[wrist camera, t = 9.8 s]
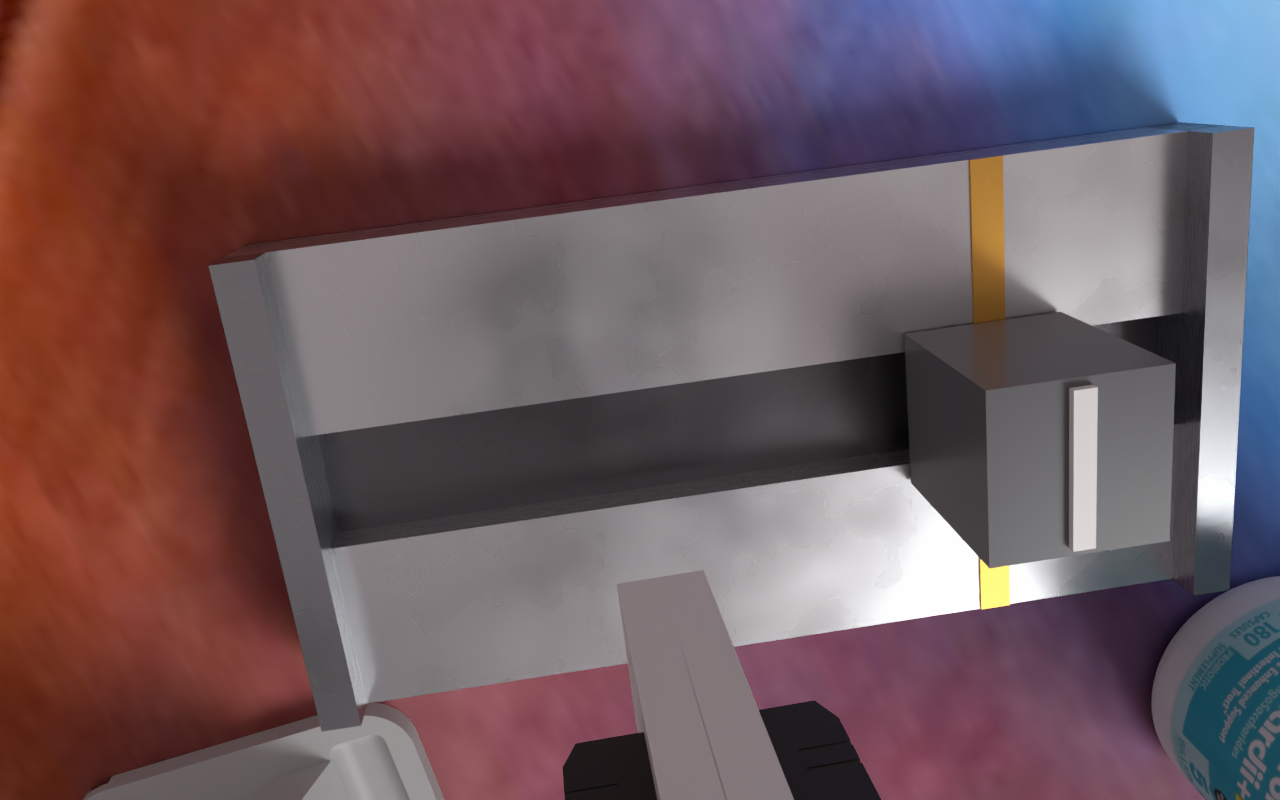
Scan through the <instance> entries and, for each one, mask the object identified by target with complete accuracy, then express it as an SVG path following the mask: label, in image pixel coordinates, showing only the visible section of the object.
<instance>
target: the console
mask: <svg viewBox="0 0 1280 800" xmlns="http://www.w3.org/2000/svg"><path fill="white" fill-rule="evenodd" d="M1253 143H1254V128H1251V127H1237V126H1223V125H1209V124H1195V123H1181V122H1179V123H1172V124H1164V125H1156V126H1149V127H1141V128H1134V129H1126V130H1118V131H1111V132H1103V133H1095V134H1088V135H1080V136H1073V137H1065V138H1057V139H1050V140H1042V141H1034V142H1027V143H1019V144H1012V145H1004V146H996V147H989V148H981V149H973V150H966V151H958V152H951V153H943V154H935V155H928V156H920V157H912V158H905V159H897V160H890V161H882V162H874V163H867V164H859V165H851V166H844V167H836V168H829V169H821V170H813V171H806V172H798V173H790V174H783V175H775V176H768V177H760V178H752V179H745V180H737V181H729V182H722V183H714V184H707V185H699V186H691V187H684V188H676V189H668V190H661V191H653V192H646V193H638V194H630V195H623V196H615V197H607V198H600V199H592V200H585V201H577V202H569V203H562V204H554V205H546V206H539V207H531V208H524V209H516V210H508V211H501V212H493V213H485V214H478V215H470V216H463V217H455V218H447V219H440V220H432V221H425V222H417V223H409V224H402V225H394V226H386V227H379V228H371V229H364V230H356V231H348V232H341V233H333V234H325V235H318V236H310V237H303V238H295V239H287V240H280V241H272V242H264V243H257V244H249V245H244V246H242V247H240V248H238V249H237V250H235V251H233V252H231V253H230V254H228V255H226V256H225V257H223V258H221V259H219V260H218V261H216V262H214V263H212V264H211V265H209V270H210V274H211V278H212V282H213V287H214V291H215V295H216V299H217V303H218V307H219V311H220V315H221V319H222V324H223V328H224V332H225V336H226V340H227V344H228V348H229V352H230V356H231V361H232V365H233V369H234V373H235V377H236V381H237V385H238V389H239V393H240V398H241V402H242V406H243V410H244V414H245V418H246V422H247V426H248V430H249V435H250V439H251V443H252V447H253V451H254V455H255V459H256V463H257V468H258V472H259V476H260V480H261V484H262V488H263V492H264V496H265V500H266V505H267V509H268V513H269V517H270V521H271V525H272V529H273V533H274V537H275V542H276V546H277V550H278V554H279V558H280V562H281V566H282V570H283V574H284V579H285V583H286V587H287V591H288V595H289V599H290V603H291V607H292V611H293V616H294V620H295V624H296V628H297V632H298V636H299V640H300V644H301V649H302V653H303V657H304V661H305V665H306V669H307V673H308V677H309V681H310V686H311V690H312V694H313V698H314V702H315V706H316V710H317V714H318V718H319V723H320V727H321V731H322V732H323V731H330V730H336V729H342V728H349V727H355V726H361V725H362V721H363V717H364V714H365V710H366V706H367V703H374V702H380V701H386V700H393V699H399V698H406V697H412V696H419V695H425V694H432V693H438V692H445V691H451V690H457V689H464V688H470V687H477V686H483V685H490V684H496V683H503V682H509V681H516V680H522V679H528V678H535V677H541V676H548V675H554V674H561V673H567V672H574V671H580V670H587V669H593V668H599V667H606V666H612V665H619V664H625V663H628V662H627V655H626V648H625V640H624V633H623V626H622V619H621V612H620V605H619V597H618V590H617V584H619V583H625V582H632V581H638V580H644V579H650V578H657V577H663V576H669V575H676V574H682V573H688V572H694V571H701V570H704V573H705V575H706V578H707V580H708V583H709V585H710V588H711V591H712V593H713V596H714V598H715V601H716V603H717V606H718V608H719V611H720V613H721V616H722V618H723V621H724V623H725V626H726V629H727V631H728V634H729V636H730V639H731V641H732V644H733V646H734V647H735V646H741V645H748V644H754V643H761V642H767V641H774V640H780V639H787V638H793V637H800V636H806V635H812V634H819V633H825V632H832V631H838V630H845V629H851V628H858V627H864V626H871V625H877V624H883V623H890V622H896V621H903V620H909V619H916V618H922V617H929V616H935V615H942V614H948V613H954V612H961V611H967V610H974V609H980V608H981V610H982V609H988V608H994V607H1001V606H1007V605H1010V604H1013V603H1019V602H1025V601H1032V600H1038V599H1045V598H1051V597H1058V596H1064V595H1071V594H1077V593H1084V592H1090V591H1096V590H1103V589H1109V588H1116V587H1122V586H1129V585H1135V584H1142V583H1148V582H1155V581H1161V580H1167V579H1173V580H1174V581H1175V582H1177V583H1178V584H1179V585H1180V586H1182V587H1183V588H1184V589H1185V590H1187V591H1188V592H1189V593H1191V594H1192V595H1193V596H1195V595H1202V594H1208V593H1214V592H1221V591H1227V590H1230V572H1231V554H1232V535H1233V517H1234V498H1235V479H1236V461H1237V442H1238V423H1239V405H1240V386H1241V367H1242V349H1243V330H1244V311H1245V293H1246V274H1247V255H1248V237H1249V218H1250V199H1251V181H1252V162H1253ZM1056 312H1063V313H1065V314H1067V315H1069V316H1071V317H1074V318H1076V319H1078V320H1080V321H1083V322H1085V323H1087V324H1089V325H1092V326H1094V327H1096V328H1098V329H1100V330H1103V331H1105V332H1107V333H1109V334H1112V335H1114V336H1116V337H1118V338H1120V339H1123V340H1125V341H1127V342H1129V343H1132V344H1134V345H1136V346H1138V347H1141V348H1143V349H1145V350H1147V351H1149V352H1152V353H1154V354H1156V355H1158V356H1161V357H1163V358H1165V359H1167V360H1170V361H1172V362H1174V363H1176V372H1175V401H1174V430H1173V459H1172V489H1171V518H1170V541H1166V542H1160V543H1153V544H1146V545H1140V546H1133V547H1127V548H1120V549H1114V550H1107V551H1101V552H1094V553H1088V554H1081V555H1075V556H1068V557H1061V558H1055V559H1048V560H1042V561H1035V562H1029V563H1022V564H1016V565H1009V566H1003V567H996V568H989V567H988V566H987V565H986V564H985V563H984V562H983V561H982V560H981V559H980V558H979V557H978V555H977V554H976V553H975V552H974V551H973V550H972V549H971V548H970V547H969V546H968V545H967V544H966V542H965V541H964V540H963V539H962V538H961V537H960V536H959V535H958V534H957V533H956V532H955V530H954V529H953V528H952V527H951V526H950V525H949V524H948V523H947V522H946V521H945V520H944V519H943V517H942V516H941V515H940V514H939V513H938V512H937V511H936V510H935V509H934V508H933V507H932V505H931V504H930V503H929V502H928V501H927V500H926V499H925V498H924V497H923V496H922V495H921V494H920V492H919V491H918V490H917V489H916V488H915V487H914V486H913V485H912V484H911V472H910V449H909V427H908V405H907V383H906V361H905V339H904V334H906V333H913V332H920V331H927V330H934V329H941V328H949V327H956V326H963V325H970V324H977V323H984V322H991V321H999V320H1006V319H1013V318H1020V317H1027V316H1034V315H1041V314H1048V313H1056Z"/></svg>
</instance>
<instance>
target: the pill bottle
mask: <svg viewBox="0 0 1280 800" xmlns="http://www.w3.org/2000/svg"><path fill="white" fill-rule="evenodd" d="M1152 717H1153V722H1154V726H1155V730H1156V733H1157V735H1158V738H1159V740H1160V742H1161V745H1162V747H1163V749H1164V750H1165V752H1166V753H1167V755H1168V756H1169V758H1170V759H1171V761H1172V762H1173V763H1174V764H1175V765H1176V767H1177V768H1178V769H1179V770H1180V771H1181V772H1182V774H1183V775H1184V776H1185V777H1186V778H1187V779H1188V780H1189V781H1190V783H1191V784H1192V785H1193V786H1194V787H1195V788H1196V789H1197V790H1198V791H1199V793H1200V794H1201V795H1202V796H1203V797H1204V798H1205V799H1206V800H1280V576H1274V577H1267V578H1263V579H1258V580H1255V581H1251V582H1248V583H1245V584H1242V585H1240V586H1238V587H1235V588H1233V589H1230V590H1228V591H1227V592H1225V593H1223V594H1221V595H1219V596H1218V597H1216V598H1214V599H1213V600H1211V601H1210V602H1209V603H1207V604H1206V605H1205V606H1203V607H1202V608H1201V609H1199V610H1198V611H1197V612H1196V613H1195V614H1193V615H1192V616H1191V617H1190V618H1189V619H1188V620H1187V621H1186V623H1185V624H1184V625H1183V626H1182V627H1181V628H1180V629H1179V630H1178V632H1177V633H1176V634H1175V636H1174V637H1173V638H1172V640H1171V641H1170V643H1169V645H1168V646H1167V648H1166V650H1165V652H1164V654H1163V656H1162V658H1161V660H1160V663H1159V665H1158V668H1157V671H1156V675H1155V679H1154V683H1153V689H1152Z"/></svg>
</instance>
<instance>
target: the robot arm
mask: <svg viewBox="0 0 1280 800" xmlns="http://www.w3.org/2000/svg"><path fill="white" fill-rule="evenodd" d="M617 590H618V597H619V605H620V612H621V619H622V626H623V633H624V640H625V648H626V655H627V662H628V669H629V676H630V683H631V691H632V698H633V705H634V712H635V719H636V726H637V731H638V733H636V734H630V735H624V736H618V737H612V738H606V739H600V740H594V741H589V742H583V743H577V744H575V746H574V748H573V750H572V752H571V753H570V755H569V757H568V759H567V761H566V763H565V765H564V766H563V778H564V793H565V800H881V799H880V797H879V795H878V793H877V791H876V789H875V787H874V785H873V783H872V781H871V779H870V777H869V775H868V774H867V772H866V770H865V768H864V766H863V764H862V763H860V758H859V756H858V754H857V752H856V750H855V749H854V747H853V745H851V742H850V739H849V737H848V735H847V733H846V731H845V729H844V727H843V725H842V724H841V722H840V720H839V718H838V717H837V716H835V715H834V714H832V713H831V712H830V711H828V710H827V709H825V708H824V707H823V706H821V705H820V704H819V703H817V702H816V701H809V702H803V703H798V704H792V705H786V706H780V707H774V708H768V709H762V710H758V707H757V705H756V702H755V700H754V697H753V694H752V692H751V689H750V687H749V684H748V682H747V679H746V677H745V674H744V672H743V669H742V667H741V664H740V662H739V659H738V656H737V654H736V651H735V649H734V646H733V644H732V641H731V639H730V636H729V634H728V631H727V629H726V626H725V623H724V621H723V618H722V616H721V613H720V611H719V608H718V606H717V603H716V601H715V598H714V596H713V593H712V591H711V588H710V585H709V583H708V580H707V578H706V575H705V573H704V570H701V571H694V572H688V573H682V574H676V575H669V576H663V577H657V578H650V579H644V580H638V581H632V582H625V583H619V584H617Z"/></svg>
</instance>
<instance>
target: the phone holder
mask: <svg viewBox="0 0 1280 800" xmlns="http://www.w3.org/2000/svg"><path fill="white" fill-rule="evenodd" d="M83 800H444V797H443V795H442V792H441V790H440V787H439V785H438V782H437V780H436V777H435V775H434V773H433V770H432V768H431V765H430V763H429V760H428V758H427V755H426V753H425V750H424V748H423V745H422V743H421V740H420V738H419V736H418V733H417V731H416V729H415V727H414V725H413V724H412V722H411V721H410V720H409V719H408V717H407V716H405V715H404V714H403V713H402V712H400V711H399V710H397V709H395V708H393V707H391V706H388V705H385V704H381V703H367V706H366V710H365V714H364V717H363V721H362V725H361V726H355V727H349V728H342V729H336V730H330V731H323V732H322V731H321V727H320V723H319V718H318V715H316V716H312V717H309V718H306V719H302V720H299V721H295V722H292V723H289V724H285V725H282V726H279V727H275V728H272V729H269V730H265V731H262V732H258V733H255V734H252V735H248V736H245V737H242V738H238V739H235V740H232V741H228V742H225V743H221V744H218V745H215V746H211V747H208V748H205V749H201V750H198V751H195V752H191V753H188V754H185V755H181V756H178V757H174V758H171V759H168V760H164V761H161V762H158V763H154V764H151V765H148V766H144V767H141V768H137V769H134V770H131V771H127V772H124V773H121V774H117V775H114V776H112V777H111V779H110V781H109V782H108V783H107V784H104V785H101V786H99V787H98V788H96V789H94V790H93V791H92V789H90V791H89V792H88V793H87V795H86V796H85V798H84V799H83Z"/></svg>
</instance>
